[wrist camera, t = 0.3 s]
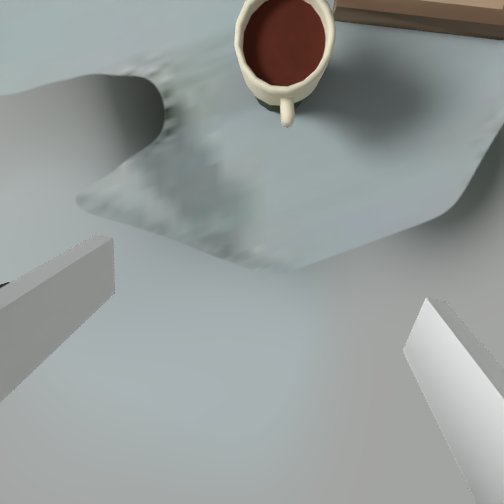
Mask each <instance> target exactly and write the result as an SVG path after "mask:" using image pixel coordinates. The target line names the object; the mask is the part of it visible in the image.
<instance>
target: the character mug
mask: <svg viewBox="0 0 504 504" xmlns="http://www.w3.org/2000/svg"><path fill="white" fill-rule="evenodd" d="M335 36H336V27H335V20H334V17H333V14H332V11H331V8H330V5H329V4H328V2H327V1H326V0H246V1H245V3H244V5H243V8H242V10H241V12H240V15H239V17H238V19H237V21H236V27H235V43H234V47H235V51H236V54H237V57H238V61H239V64H240V68H241V71H242V73H243V76H244V79H245V82H246V84H247V86H248V87H249V88H250V90H251V91H252V92H253V94H254V95H255V97H256V98H257V100H258V102H259V104H261V105H262V106H264V107H265V108H267V109H268V110H270V111H274V112H280V113H281V122H282V124H283V126H284V127H287V128H288V127H290V126H291V125H292V124H293V121H294V119H295V112H294V108H296V107H297V106H298V105H299V104H300V103H301V102H302V101H303V100H304V99H305V98H306V97H307V96H309V95H310V94H311V93H312V92H313V91H314V89H315V88H316V86H317V84H318V82H319V80H320V79H321V77H322V75H323V73H324V71H325V69H326V67H327V65H328V62H329V60H330V58H331V55H332V51H333V47H334V43H335Z"/></svg>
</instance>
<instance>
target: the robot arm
mask: <svg viewBox="0 0 504 504" xmlns="http://www.w3.org/2000/svg"><path fill="white" fill-rule="evenodd" d="M114 293H115V282H114V249H113V238H112V237H107V236H101V235H94V236H92V237H90V238H89V239H87V240H85V241H83V242H82V243H80V244H78V245H76V246H74V247H73V248H71V249H69V250H67V251H65V252H64V253H62V254H60V255H59V256H57V257H55V258H53V259H51V260H50V261H48V262H46V263H44V264H42V265H41V266H39V267H37V268H35V269H34V270H32V271H30V272H28V273H26V274H25V275H23V276H21V277H19V278H18V279H16V280H14V281H12V282H7V283H4V284H1V285H0V402H1V401H2V400H3V399H4V398H5V397H7V396H8V395H9V394H10V393H11V392H12V391H13V390H14V389H15V388H16V387H17V386H18V385H19V384H20V383H21V382H22V381H23V380H24V379H25V378H26V377H27V376H28V375H30V374H31V373H32V372H33V371H34V370H35V369H36V368H37V367H38V366H39V365H40V364H41V363H42V362H43V361H44V360H45V359H46V358H47V357H48V356H49V355H50V354H52V353H53V352H54V351H55V350H56V349H57V348H58V347H59V346H60V345H61V344H62V343H63V342H64V341H65V340H66V339H67V338H68V337H69V336H70V335H71V334H72V333H74V331H76V330H77V329H78V328H79V327H80V326H81V325H82V324H83V323H84V322H85V321H86V320H87V319H88V318H89V317H90V316H91V315H92V314H93V313H95V312H96V311H97V310H98V308H100V307H101V306H102V305H103V304H104V303H105V302H106V301H107V300H108V299H109V298H110V297H111V296H112V295H113V294H114ZM403 353H404V355H405V357H406V359H407V361H408V364H409V366H410V367H411V370H412V372H413V374H414V376H415V378H416V380H417V382H418V384H419V386H420V388H421V390H422V392H423V395H424V397H425V399H426V401H427V403H428V405H429V407H430V409H431V411H432V413H433V415H434V417H435V419H436V421H437V423H438V426H439V428H440V430H441V432H442V434H443V436H444V438H445V440H446V442H447V444H448V446H449V448H450V450H451V453H452V454H453V457H454V459H455V461H456V463H457V465H458V467H459V469H460V471H461V473H462V475H463V477H464V479H465V481H466V483H467V486H468V488H469V490H470V492H471V494H472V496H473V498H474V500H475V502H476V504H504V369H503V368H502V367H501V366H500V364H499V363H498V362H497V361H496V360H495V359H494V357H493V356H492V355H491V354H490V353H489V351H487V349H486V348H485V347H484V346H483V345H482V343H481V342H480V341H479V340H478V339H477V338H476V336H475V335H474V334H473V333H472V332H471V331H470V329H469V328H468V327H467V326H466V325H465V324H464V322H463V321H462V320H461V319H460V318H459V317H458V315H457V314H456V313H455V312H454V311H453V310H452V309H451V307H450V306H449V305H448V304H447V303H446V301H441V300H436V299H431V298H426V299H425V301H424V303H423V306H422V308H421V310H420V312H419V315H418V317H417V319H416V322H415V324H414V326H413V328H412V331H411V333H410V335H409V337H408V340H407V342H406V344H405V346H404V349H403Z"/></svg>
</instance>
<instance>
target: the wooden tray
mask: <svg viewBox="0 0 504 504" xmlns="http://www.w3.org/2000/svg"><path fill="white" fill-rule="evenodd" d="M332 14H333V17H334V20H335V21H343V22H351V23H360V24H369V25H377V26H386V27H394V28H403V29H412V30H420V31H429V32H437V33H446V34H455V35H463V36H472V37H480V38H489V39H498V40H503V39H504V0H334V6H333V12H332Z"/></svg>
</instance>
